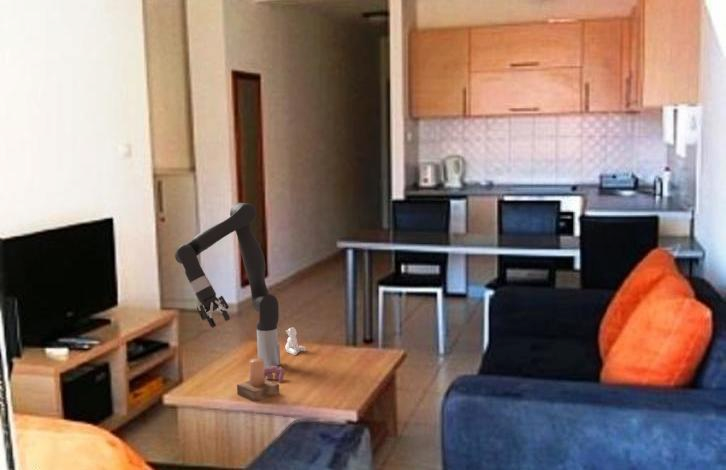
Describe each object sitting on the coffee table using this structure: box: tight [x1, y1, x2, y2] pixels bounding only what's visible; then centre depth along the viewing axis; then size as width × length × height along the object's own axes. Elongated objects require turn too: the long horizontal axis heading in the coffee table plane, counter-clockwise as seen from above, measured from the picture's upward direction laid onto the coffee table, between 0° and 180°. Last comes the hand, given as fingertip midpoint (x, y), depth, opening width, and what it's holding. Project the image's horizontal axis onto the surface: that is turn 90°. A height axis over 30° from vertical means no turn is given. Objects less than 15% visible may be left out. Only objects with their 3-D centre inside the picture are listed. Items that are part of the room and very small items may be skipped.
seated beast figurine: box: [284, 327, 306, 356], centre depth 359 cm, size 10×9×12 cm
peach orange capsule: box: [248, 357, 266, 387], centre depth 301 cm, size 6×6×10 cm
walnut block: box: [236, 378, 280, 402], centre depth 302 cm, size 12×12×4 cm
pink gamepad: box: [264, 365, 286, 383], centre depth 320 cm, size 10×5×7 cm, turn 73°
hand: (221, 323), depth 310 cm, fingers open, 8 cm apart
